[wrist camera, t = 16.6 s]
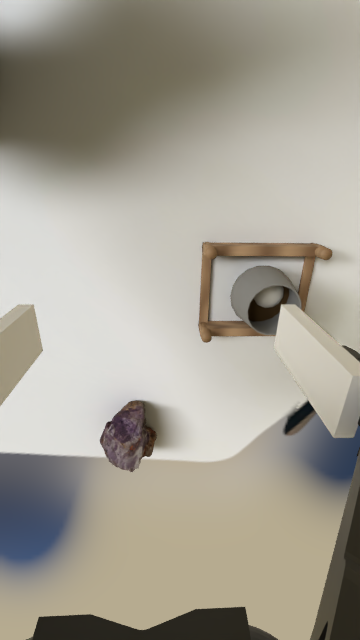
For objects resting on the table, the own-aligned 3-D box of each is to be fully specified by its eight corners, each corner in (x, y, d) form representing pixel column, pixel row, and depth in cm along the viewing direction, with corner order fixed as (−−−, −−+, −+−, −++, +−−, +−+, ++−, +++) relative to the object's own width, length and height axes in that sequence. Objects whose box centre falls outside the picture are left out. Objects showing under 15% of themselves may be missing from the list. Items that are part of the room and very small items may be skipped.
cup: (275, 251, 46) (302, 266, 37) (287, 303, 50) (314, 328, 41) (219, 272, 47) (231, 292, 38) (234, 321, 51) (249, 349, 42)
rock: (151, 394, 58) (101, 400, 58) (149, 419, 50) (91, 426, 50) (158, 444, 61) (110, 449, 61) (157, 475, 53) (102, 482, 53)
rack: (198, 328, 51) (201, 342, 47) (202, 241, 45) (206, 247, 41) (299, 328, 52) (312, 341, 48) (317, 242, 46) (333, 248, 41)
